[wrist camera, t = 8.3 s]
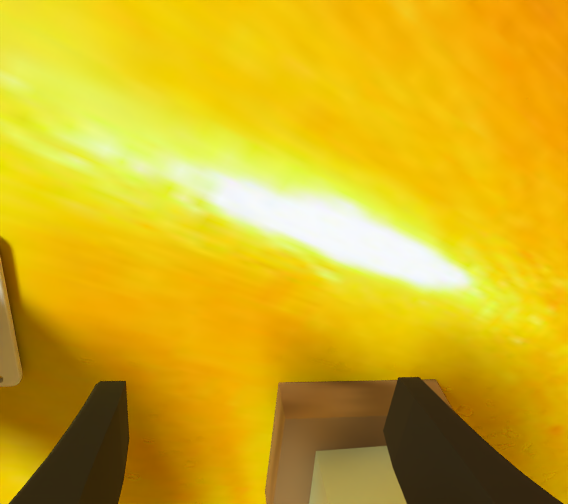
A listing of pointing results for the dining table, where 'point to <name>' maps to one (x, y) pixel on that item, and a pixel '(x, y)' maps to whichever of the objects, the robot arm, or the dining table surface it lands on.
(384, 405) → the walnut pedestal
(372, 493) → the pale yellow block
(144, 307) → the dining table surface
